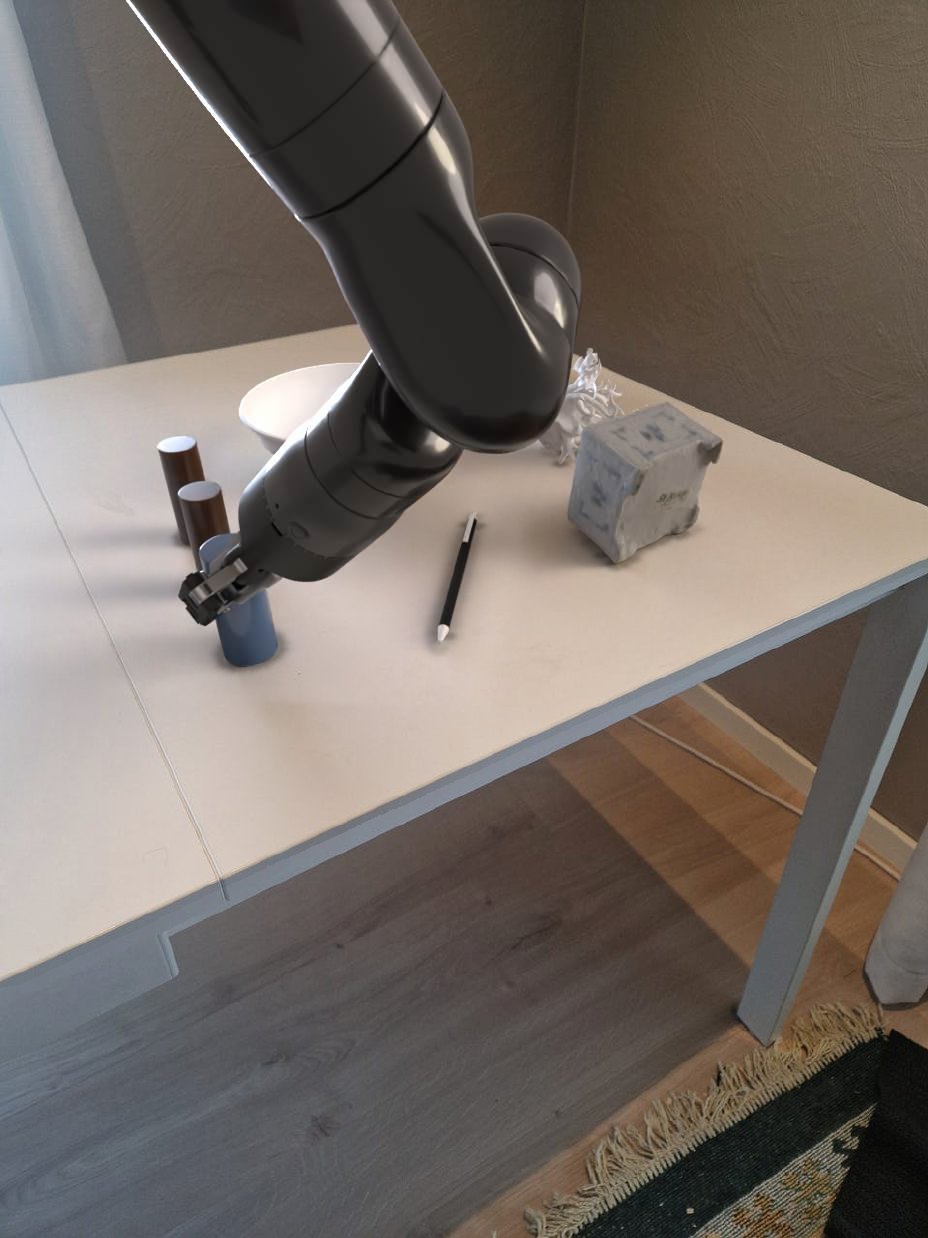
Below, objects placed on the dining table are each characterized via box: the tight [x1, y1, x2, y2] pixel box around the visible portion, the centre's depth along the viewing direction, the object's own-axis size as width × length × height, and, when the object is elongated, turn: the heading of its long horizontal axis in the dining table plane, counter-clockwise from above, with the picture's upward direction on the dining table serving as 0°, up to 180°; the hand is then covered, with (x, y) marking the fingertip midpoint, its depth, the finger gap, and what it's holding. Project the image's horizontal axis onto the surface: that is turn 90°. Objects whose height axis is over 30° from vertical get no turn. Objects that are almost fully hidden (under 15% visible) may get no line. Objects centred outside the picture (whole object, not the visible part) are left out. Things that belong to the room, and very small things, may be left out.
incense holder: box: [566, 401, 724, 564], centre depth 74 cm, size 10×8×10 cm
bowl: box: [238, 362, 362, 455], centre depth 88 cm, size 20×20×6 cm
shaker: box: [199, 532, 279, 667], centre depth 62 cm, size 4×4×9 cm
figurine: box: [538, 347, 649, 466], centre depth 87 cm, size 13×15×12 cm
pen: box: [437, 510, 478, 644], centre depth 71 cm, size 1×19×1 cm, turn 172°
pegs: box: [157, 435, 232, 572], centre depth 72 cm, size 3×12×9 cm, turn 25°
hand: (222, 597), depth 63 cm, fingers closed on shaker, 4 cm apart
